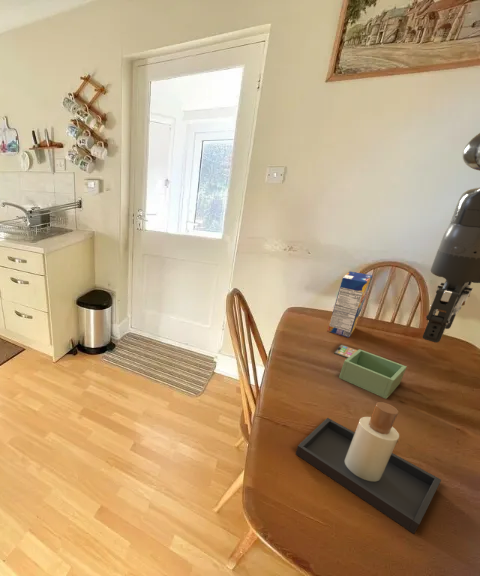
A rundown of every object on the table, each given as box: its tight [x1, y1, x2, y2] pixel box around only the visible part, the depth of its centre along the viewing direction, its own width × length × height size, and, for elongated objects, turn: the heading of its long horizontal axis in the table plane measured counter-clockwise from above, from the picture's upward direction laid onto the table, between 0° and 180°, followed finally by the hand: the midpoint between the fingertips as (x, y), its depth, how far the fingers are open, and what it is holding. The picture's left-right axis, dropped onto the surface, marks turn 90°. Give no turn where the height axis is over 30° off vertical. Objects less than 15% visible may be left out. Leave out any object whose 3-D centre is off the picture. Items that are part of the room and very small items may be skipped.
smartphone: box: [333, 344, 359, 359], centre depth 102 cm, size 8×15×1 cm, turn 41°
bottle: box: [345, 401, 400, 482], centre depth 62 cm, size 6×6×16 cm
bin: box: [338, 348, 408, 400], centre depth 91 cm, size 11×11×7 cm
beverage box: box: [326, 270, 374, 339], centre depth 118 cm, size 7×11×22 cm, turn 132°
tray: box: [295, 417, 442, 535], centre depth 65 cm, size 20×15×3 cm
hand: (436, 333), depth 60 cm, fingers open, 8 cm apart
